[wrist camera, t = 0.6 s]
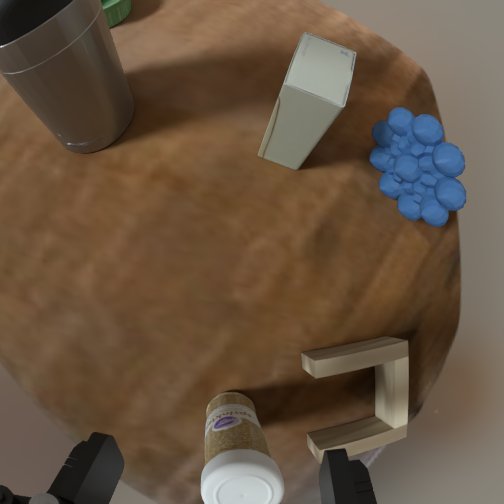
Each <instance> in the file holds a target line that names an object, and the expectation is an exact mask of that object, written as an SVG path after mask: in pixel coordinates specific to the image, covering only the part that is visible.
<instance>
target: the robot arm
mask: <svg viewBox="0 0 504 504" xmlns="http://www.w3.org/2000/svg"><path fill="white" fill-rule="evenodd" d="M0 73H1V74H2V75H3V76H4V78H5V79H6V80H7V81H8V82H9V84H10V85H11V86H12V87H13V88H14V90H15V91H16V92H17V93H18V94H19V96H20V97H21V98H22V99H23V100H24V102H25V103H26V104H27V105H28V106H29V107H30V109H31V110H32V111H33V112H34V113H35V114H36V116H37V117H38V118H39V119H40V120H41V121H42V122H43V123H44V125H45V126H46V127H47V128H48V129H49V130H50V131H51V133H52V134H53V135H54V136H55V137H56V138H57V139H58V140H59V141H60V142H61V144H62V145H63V146H64V147H66V148H67V149H68V150H70V151H72V152H76V153H91V152H95V151H98V150H100V149H102V148H105V147H107V146H108V145H110V144H111V143H113V142H114V141H115V140H116V139H118V138H119V137H120V136H121V135H122V134H123V132H124V131H125V130H126V129H127V127H128V125H129V124H130V122H131V120H132V117H133V113H134V99H133V96H132V93H131V91H130V88H129V85H128V82H127V79H126V76H125V73H124V71H123V68H122V65H121V62H120V59H119V56H118V53H117V50H116V47H115V44H114V41H113V38H112V35H111V32H110V29H109V26H108V23H107V20H106V17H105V14H104V10H103V7H102V4H101V1H100V0H0ZM123 469H124V459H123V456H122V454H121V452H120V450H119V448H118V446H117V444H116V441H115V439H114V437H113V436H111V435H107V434H103V433H98V432H94V433H92V434H91V436H90V438H89V439H88V441H87V442H86V441H82V442H81V443H79V444H78V445H77V446H75V447H74V448H73V450H72V452H71V453H70V455H69V458H68V459H67V460H66V462H65V463H64V466H63V467H62V468H61V470H60V471H59V473H58V475H57V477H56V478H55V480H54V482H53V483H52V485H51V487H50V489H49V490H48V491H47V492H46V493H39V494H36V495H34V496H33V497H25V496H19V495H14V494H13V493H12V492H11V491H10V490H9V489H8V488H7V487H5V486H3V485H0V504H109V502H110V500H111V498H112V495H113V493H114V491H115V488H116V486H117V484H118V481H119V479H120V477H121V474H122V472H123ZM319 485H320V493H321V501H322V504H377V502H376V498H375V495H374V492H373V487H372V483H371V480H370V476H369V472H368V469H367V468H366V467H365V465H364V464H363V463H362V462H361V461H360V460H353V461H349V459H348V455H347V451H346V449H345V448H340V449H331V450H325V451H324V454H323V459H322V464H321V468H320V473H319Z"/></svg>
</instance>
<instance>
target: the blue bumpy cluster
mask: <svg viewBox="0 0 504 504" xmlns="http://www.w3.org/2000/svg"><path fill="white" fill-rule="evenodd" d="M372 137H373V139H374V141H375V142H376V143H377V144H378V145H377V146H375V147H374V148H373V149H372V151H371V152H370V162H371V164H372V165H373V166H374V167H375V168H376V169H378V170H380V171H386V173H384V174H382V176H381V178H380V181H379V188H380V190H381V191H382V192H383V193H384V194H385V195H386V196H388V197H389V198H393V199H398V203H397V206H398V210H399V211H400V213H401V214H402V215H403V216H404V217H406V218H407V219H409V220H415V221H416V220H418V219H420V218H423V219H424V221H425V222H427V223H428V224H430V225H431V226H436V227H440V226H442V225H444V224H446V222H447V220H448V218H449V210H453V211H457V210H459V209H461V208H463V206H464V204H465V202H466V190H465V188H464V187H463V185H462V184H461V182H460V181H459V180H457V179H455V178H454V177H457V176H459V175H461V174H462V173H463V170H464V169H465V160H464V155H463V154H462V152H461V151H460V150H459V148H458V147H457V146H455V145H453V144H451V143H446V142H442V140H443V138H444V131H443V126H442V125H441V124H440V122H439V121H438V120H437V119H436V118H435V117H433V116H431V115H429V114H421V115H419V116H418V117H416V118H415V116H414V115H413V114H412V113H411V111H409V110H407V109H405V108H403V107H396V108H395V109H393V110H392V111H391V112H390V113H389V115H388V121H379V122H378V123H376V124H375V125H374V127H373V130H372ZM441 142H442V143H441Z"/></svg>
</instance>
